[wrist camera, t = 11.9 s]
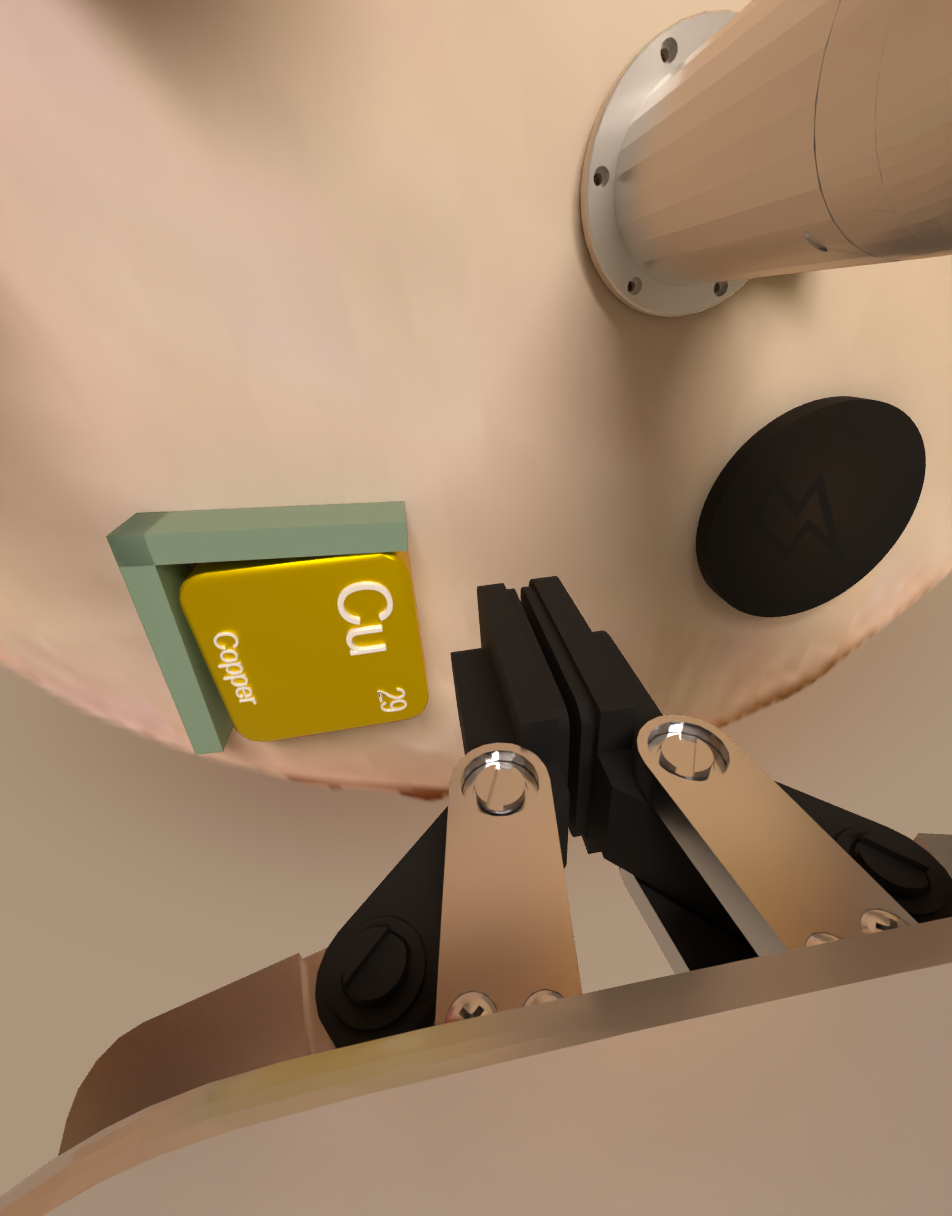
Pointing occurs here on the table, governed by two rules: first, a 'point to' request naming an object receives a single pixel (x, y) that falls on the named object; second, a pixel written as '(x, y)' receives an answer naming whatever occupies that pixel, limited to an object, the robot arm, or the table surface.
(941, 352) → the table surface
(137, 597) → the corner stop
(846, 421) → the wireless charger
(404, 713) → the element tile
